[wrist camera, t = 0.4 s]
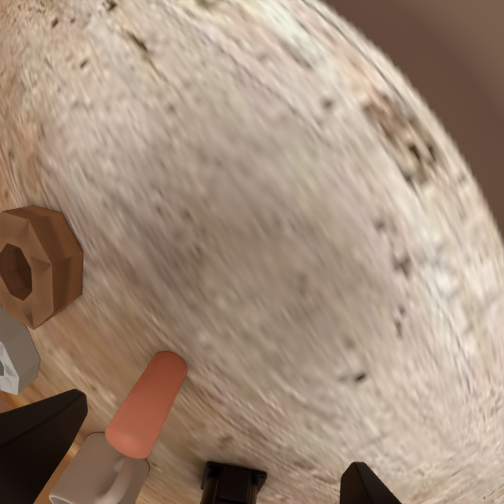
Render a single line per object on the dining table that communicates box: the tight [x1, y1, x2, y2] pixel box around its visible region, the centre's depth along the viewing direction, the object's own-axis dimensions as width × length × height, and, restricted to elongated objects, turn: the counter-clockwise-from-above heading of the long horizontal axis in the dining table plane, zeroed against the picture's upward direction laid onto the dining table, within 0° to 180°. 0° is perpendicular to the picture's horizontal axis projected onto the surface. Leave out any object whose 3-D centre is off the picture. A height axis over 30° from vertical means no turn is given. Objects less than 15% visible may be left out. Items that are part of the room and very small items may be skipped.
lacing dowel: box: [105, 351, 187, 459], centre depth 18 cm, size 3×3×9 cm
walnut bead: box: [0, 206, 83, 330], centre depth 20 cm, size 9×9×4 cm
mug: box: [49, 433, 149, 504], centre depth 21 cm, size 12×8×11 cm
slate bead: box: [0, 306, 40, 395], centre depth 23 cm, size 9×9×4 cm
